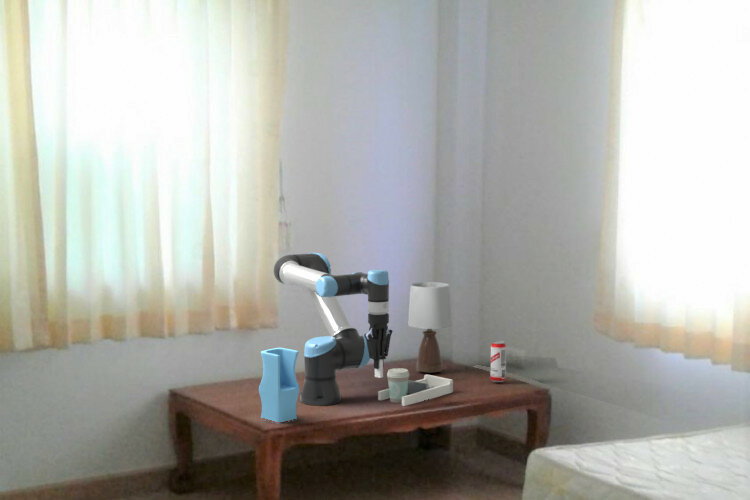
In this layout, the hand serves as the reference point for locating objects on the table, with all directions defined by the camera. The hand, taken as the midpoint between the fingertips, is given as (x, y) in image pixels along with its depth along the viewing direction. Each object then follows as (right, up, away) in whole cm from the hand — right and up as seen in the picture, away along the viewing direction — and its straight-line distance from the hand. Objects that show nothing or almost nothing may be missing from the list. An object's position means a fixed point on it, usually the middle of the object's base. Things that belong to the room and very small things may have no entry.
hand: (378, 376), depth 330 cm
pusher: (+18, -9, +21) cm, 29 cm away
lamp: (+22, -6, +61) cm, 65 cm away
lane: (+14, -10, +17) cm, 24 cm away
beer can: (+49, -8, +42) cm, 65 cm away
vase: (-34, -14, -17) cm, 41 cm away
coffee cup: (+7, -11, +9) cm, 16 cm away
